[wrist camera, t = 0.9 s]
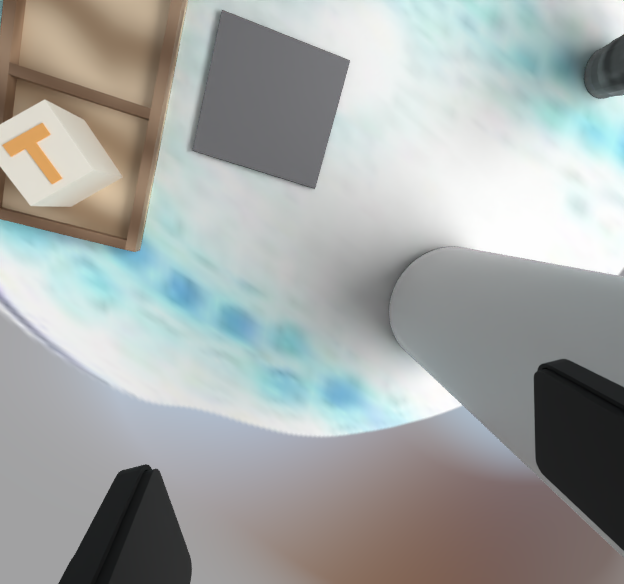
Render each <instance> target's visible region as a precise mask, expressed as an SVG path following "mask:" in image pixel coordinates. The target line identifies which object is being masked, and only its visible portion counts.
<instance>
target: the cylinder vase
mask: <svg viewBox="0 0 624 584" xmlns="http://www.w3.org/2000/svg"><path fill="white" fill-rule="evenodd" d="M389 319H390V325H391V328H392V331H393V334H394V336H395V338H396V340H397V341H398V343H399V344H400V346H401V347H402V348H403V349H404V350H405V351H406V352H407V353H408V354H409V355H410V356H411V357H412V358H413V359H414V360H416V361H417V362H418V363H419V364H420V365H421V366H422V367H423V368H424V369H425V370H426V371H427V372H428V373H429V374H430V375H431V376H432V377H433V378H435V379H436V380H437V381H438V382H439V383H440V384H441V385H442V386H443V387H444V388H445V389H446V390H447V391H448V392H449V393H450V394H451V395H452V396H454V397H455V398H456V399H457V400H458V401H459V402H460V403H461V404H462V405H463V406H464V407H465V408H466V409H467V410H468V411H469V412H470V413H471V414H473V415H474V416H475V417H476V418H477V419H478V420H479V421H480V422H481V423H482V424H483V425H484V426H485V427H486V428H487V429H489V431H491V432H492V433H493V434H494V435H495V436H496V437H497V438H498V439H499V440H500V441H501V442H502V443H503V444H504V445H505V446H506V447H507V448H509V449H510V450H511V451H512V452H513V453H514V454H515V455H516V456H517V457H518V458H519V459H520V460H521V461H522V462H523V463H524V464H525V465H526V466H527V467H529V468H530V469H531V470H532V471H533V472H534V473H535V474H536V475H537V476H538V477H539V478H540V479H541V480H542V481H543V482H544V483H545V484H546V485H548V486H549V487H550V488H551V489H552V490H553V491H554V492H555V493H556V494H557V495H558V496H559V497H560V498H561V499H562V500H563V501H564V502H565V503H566V504H568V505H569V506H570V507H571V508H572V509H573V510H574V511H575V512H576V513H577V514H578V515H579V516H580V517H581V518H582V519H583V520H584V521H586V522H587V523H588V524H589V525H590V526H591V527H592V528H593V529H594V530H595V531H596V532H597V533H598V534H599V535H600V536H601V537H602V538H604V540H606V541H607V542H608V543H609V544H610V545H611V546H612V547H613V548H614V549H615V550H616V551H617V552H618V553H619V554H620V555H621V556H622V557H624V551H623V550H622V549H621V548H620V547H619V546H618V545H617V544H616V543H615V542H614V541H613V540H612V539H610V538H609V537H608V536H607V535H606V534H605V533H604V532H603V531H602V530H601V529H600V528H599V527H598V526H597V525H596V524H595V523H594V522H592V521H591V520H590V519H589V518H588V517H587V516H586V515H585V514H584V513H583V512H582V511H581V510H580V509H579V508H578V507H577V506H575V505H574V504H573V503H572V502H571V501H570V500H569V499H568V498H567V497H566V496H565V495H564V494H563V493H562V492H561V491H560V490H559V489H557V488H556V487H555V486H554V485H553V484H552V483H551V482H550V481H549V480H548V479H547V478H546V477H545V476H544V475H543V474H542V473H541V471H540V470H539V468H538V466H537V464H536V459H535V420H534V374H535V372H537V370H538V367H539V365H541V364H543V363H547V362H551V361H555V360H559V359H567V360H570V361H572V362H574V363H576V364H578V365H580V366H582V367H584V368H586V369H588V370H590V371H592V372H594V373H596V374H598V375H601V376H603V377H605V378H607V379H609V380H611V381H613V382H615V383H617V384H619V385H621V386H623V387H624V277H622V276H617V275H612V274H606V273H601V272H595V271H590V270H584V269H579V268H573V267H568V266H562V265H557V264H551V263H546V262H540V261H535V260H529V259H524V258H518V257H513V256H507V255H502V254H496V253H491V252H485V251H480V250H474V249H468V248H463V247H444V248H439V249H436V250H433V251H430V252H428V253H426V254H424V255H422V256H421V257H419V258H418V259H416V260H415V261H414V262H412V263H411V264H410V265H409V266H408V267H407V268H406V269H405V271H404V272H403V273H402V274H401V276H400V277H399V279H398V281H397V283H396V285H395V287H394V289H393V292H392V295H391V299H390V305H389Z"/></svg>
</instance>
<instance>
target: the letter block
mask: <svg viewBox="0 0 624 584" xmlns="http://www.w3.org/2000/svg"><path fill="white" fill-rule="evenodd" d="M0 167H1V168H2V170H3V171H4V172H5V173H6V175H7V176H8V177H9V179H10V180H11V181H12V182H13V184H14V185H15V186H16V188H17V189H18V190H19V192H20V193H21V194H22V195H23V197H24V198H25V199H26V201H27V202H28V203H29V205H30V206H52V207H72V206H73V205H75V204H77V203H79V202H80V201H82V200H84V199H86V198H87V197H89V196H91V195H93V194H95V193H96V192H98V191H100V190H102V189H103V188H105V187H107V186H109V185H110V184H112V183H114V182H116V181H117V180H119V179H121V178H123V176H122V175H121V173H120V172H119V170H118V169H117V168H116V166H115V165H114V163H113V162H112V160H111V159H110V157H109V156H108V154H107V153H106V151H105V150H104V148H103V147H102V145H101V144H100V142H99V141H98V139H97V138H96V136H95V135H94V134H93V132H92V131H91V129H90V128H89V126H88V125H87V123H86V122H85V120H83V119H82V118H80V117H78V116H76V115H74V114H72V113H70V112H68V111H66V110H64V109H62V108H60V107H59V106H57V105H55V104H53V103H51V102H49V101H47V100H43V101H41V102H39V103H37V104H36V105H34V106H32V107H30V108H29V109H27V110H25V111H23V112H21V113H20V114H18V115H16V116H14V117H12V118H11V119H9V120H7V121H5V122H4V123H2V124H0Z"/></svg>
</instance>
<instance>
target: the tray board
mask: <svg viewBox="0 0 624 584" xmlns="http://www.w3.org/2000/svg"><path fill="white" fill-rule="evenodd" d="M187 3H188V0H3V9H2V18H1V28H0V124H2V123H4V122H5V121H7V120H9V119H11V118H12V117H14V116H16V115H18V114H20V113H21V112H23V111H25V110H27V109H29V108H30V107H32V106H34V105H36V104H37V103H39V102H41V101H43V100H47V101H49V102H51V103H53V104H55V105H57V106H59V107H60V108H62V109H64V110H66V111H68V112H70V113H72V114H74V115H76V116H78V117H80V118H82V119H83V120H85V122H86V123H87V125H88V126H89V128H90V129H91V131H92V132H93V134H94V135H95V136H96V138H97V139H98V141H99V142H100V144H101V145H102V147H103V148H104V150H105V151H106V153H107V154H108V156H109V157H110V159H111V160H112V162H113V163H114V165H115V166H116V168H117V169H118V170H119V172H120V173H121V175H122V176H123V178H121V179H119V180H117V181H116V182H114V183H112V184H110V185H109V186H107V187H105V188H103V189H102V190H100V191H98V192H96V193H95V194H93V195H91V196H89V197H87V198H86V199H84V200H82V201H80V202H79V203H77V204H75V205H73V206H72V207H52V206H30V205H29V203H28V202H27V201H26V199H25V198H24V197H23V195H22V194H21V193H20V192H19V190H18V189H17V188H16V186H15V185H14V184H13V182H12V181H11V180H10V179H9V177H8V176H7V175H6V173H5V172H4V171H3V170H2V168H1V167H0V219H2V220H6V221H10V222H14V223H19V224H23V225H27V226H31V227H35V228H39V229H43V230H47V231H51V232H55V233H59V234H63V235H67V236H71V237H76V238H80V239H84V240H88V241H92V242H96V243H100V244H104V245H108V246H112V247H116V248H120V249H124V250H129V251H133V252H136V251H139V250H140V248H141V242H142V237H143V232H144V227H145V222H146V216H147V211H148V206H149V201H150V196H151V190H152V185H153V180H154V175H155V170H156V164H157V159H158V154H159V149H160V144H161V138H162V133H163V128H164V123H165V118H166V112H167V107H168V102H169V97H170V92H171V86H172V81H173V76H174V71H175V66H176V60H177V55H178V50H179V45H180V40H181V34H182V29H183V24H184V19H185V14H186V8H187Z"/></svg>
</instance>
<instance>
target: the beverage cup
mask: <svg viewBox="0 0 624 584" xmlns="http://www.w3.org/2000/svg"><path fill="white" fill-rule="evenodd" d="M584 80H585V86H586V88H587V90H588V92H589V93H590V94H591V95H592V96H593V97H596V98H599V99H601V98H608V97H612V96H620V95H624V35H622V36H620V37H619V38H617V39H615V40H613V41H612V42H611V43H610V44H608V45H606V46H605V47H603V48H602V49H600V50H597V51H596V52H595V53H594V54H593V55H592V56H591V58H590V59H589V61H588V62H587V65H586V68H585V74H584Z"/></svg>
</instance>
